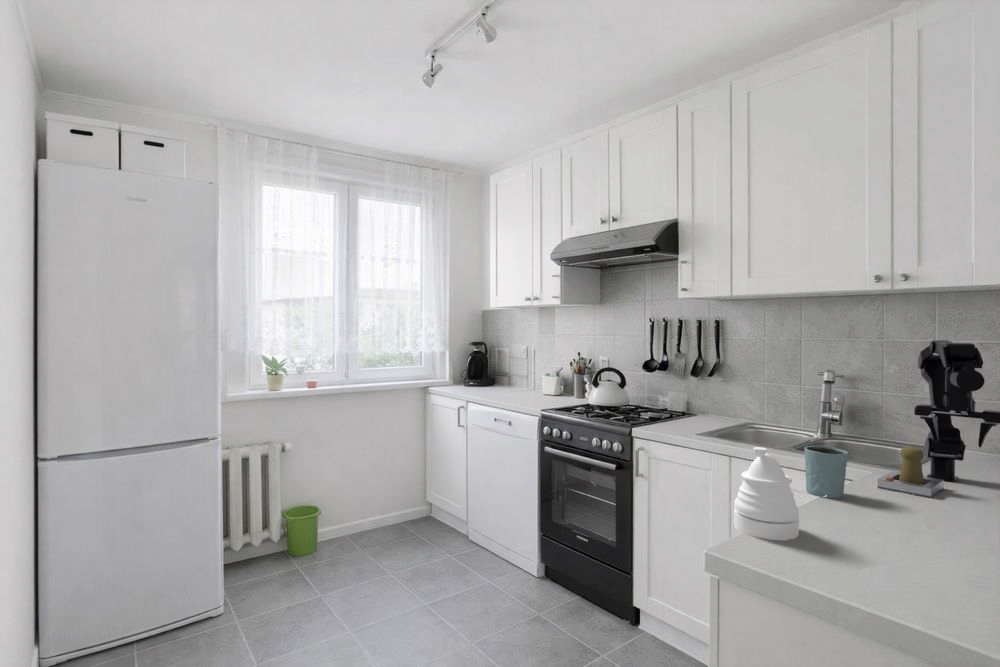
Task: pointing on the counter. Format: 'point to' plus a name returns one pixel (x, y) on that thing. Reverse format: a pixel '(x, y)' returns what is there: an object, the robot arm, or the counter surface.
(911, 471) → the cork
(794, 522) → the honey pot
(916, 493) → the socket plate
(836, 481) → the teal cup
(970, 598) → the counter surface
